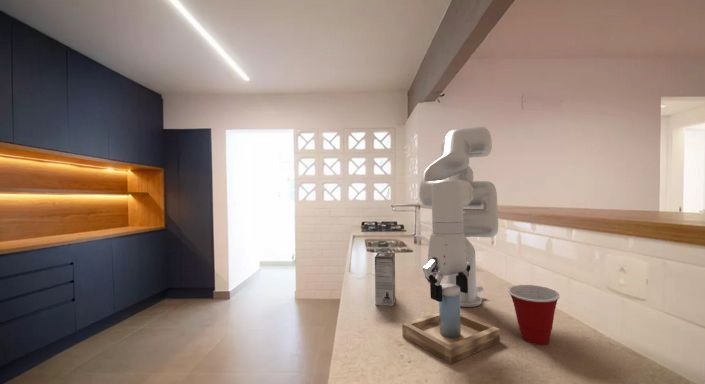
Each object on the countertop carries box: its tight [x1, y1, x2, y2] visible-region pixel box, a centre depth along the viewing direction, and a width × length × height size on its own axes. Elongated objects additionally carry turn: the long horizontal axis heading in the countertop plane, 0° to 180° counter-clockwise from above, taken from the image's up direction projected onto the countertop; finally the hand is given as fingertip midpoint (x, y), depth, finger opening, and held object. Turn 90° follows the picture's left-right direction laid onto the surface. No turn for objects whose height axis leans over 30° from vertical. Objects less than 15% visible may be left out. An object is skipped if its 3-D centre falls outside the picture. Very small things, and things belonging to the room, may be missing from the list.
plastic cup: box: [507, 284, 560, 346], centre depth 69 cm, size 11×11×12 cm
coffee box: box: [374, 251, 396, 307], centre depth 96 cm, size 9×6×16 cm
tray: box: [401, 312, 501, 365], centre depth 69 cm, size 18×15×3 cm
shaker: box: [438, 283, 461, 338], centre depth 70 cm, size 5×5×12 cm
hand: (449, 295), depth 71 cm, fingers open, 9 cm apart
